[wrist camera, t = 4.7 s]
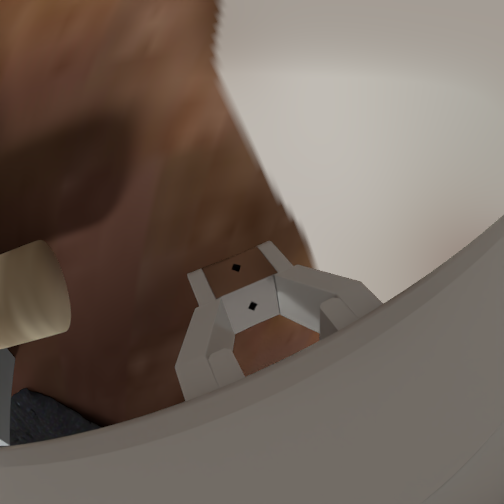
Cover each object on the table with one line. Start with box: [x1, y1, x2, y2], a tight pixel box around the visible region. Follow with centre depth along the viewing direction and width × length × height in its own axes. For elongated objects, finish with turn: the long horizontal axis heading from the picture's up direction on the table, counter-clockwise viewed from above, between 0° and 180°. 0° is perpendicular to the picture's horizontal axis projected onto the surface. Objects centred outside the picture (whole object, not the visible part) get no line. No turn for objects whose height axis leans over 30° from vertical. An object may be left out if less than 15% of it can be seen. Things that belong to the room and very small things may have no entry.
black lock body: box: [0, 388, 103, 447], centre depth 19 cm, size 15×22×5 cm
